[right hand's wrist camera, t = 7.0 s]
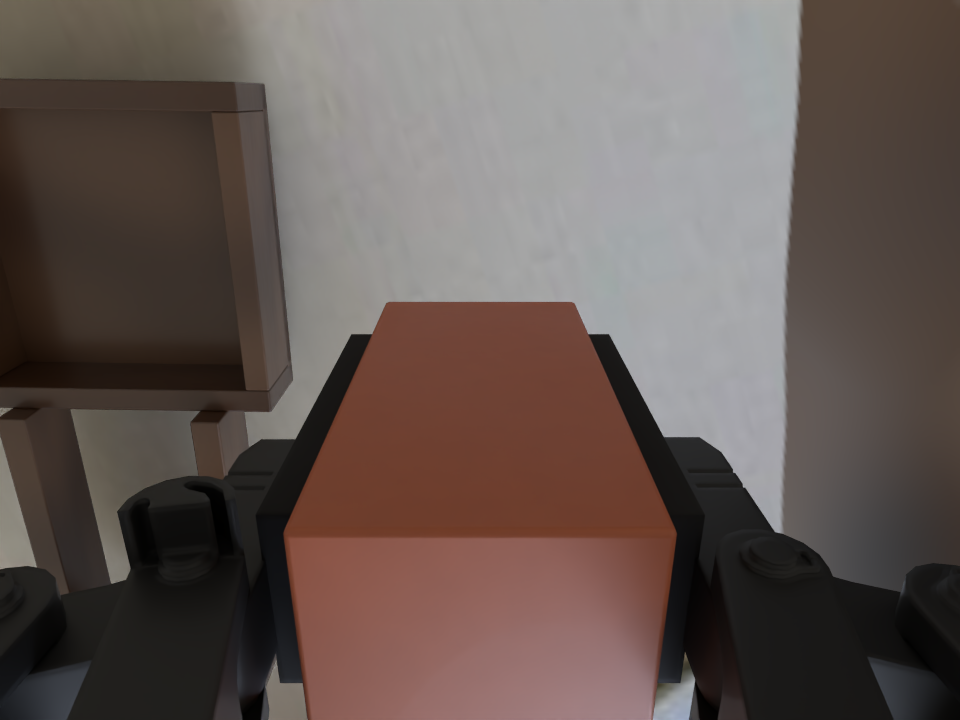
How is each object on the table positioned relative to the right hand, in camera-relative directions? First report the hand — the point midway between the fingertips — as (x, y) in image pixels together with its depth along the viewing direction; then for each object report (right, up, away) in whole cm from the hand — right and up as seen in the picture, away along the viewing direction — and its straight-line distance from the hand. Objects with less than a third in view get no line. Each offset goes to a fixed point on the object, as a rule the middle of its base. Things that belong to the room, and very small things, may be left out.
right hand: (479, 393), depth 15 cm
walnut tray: (-15, -1, +17) cm, 23 cm away
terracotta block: (0, 0, 0) cm, 0 cm away
